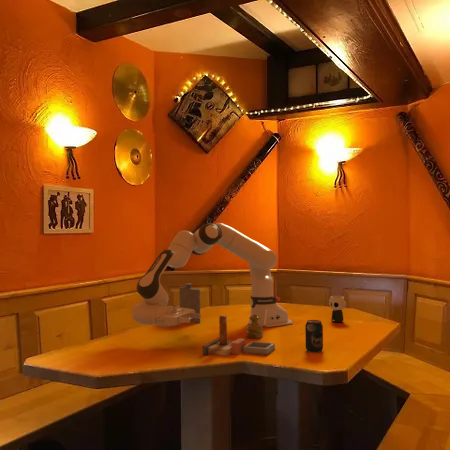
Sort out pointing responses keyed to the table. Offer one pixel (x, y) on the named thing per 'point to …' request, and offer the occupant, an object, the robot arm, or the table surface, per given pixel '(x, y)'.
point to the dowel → (223, 330)
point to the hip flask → (190, 299)
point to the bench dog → (237, 346)
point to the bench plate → (220, 349)
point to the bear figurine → (337, 307)
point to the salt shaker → (254, 328)
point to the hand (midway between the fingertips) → (195, 318)
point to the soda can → (314, 336)
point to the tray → (259, 348)
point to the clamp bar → (205, 347)
